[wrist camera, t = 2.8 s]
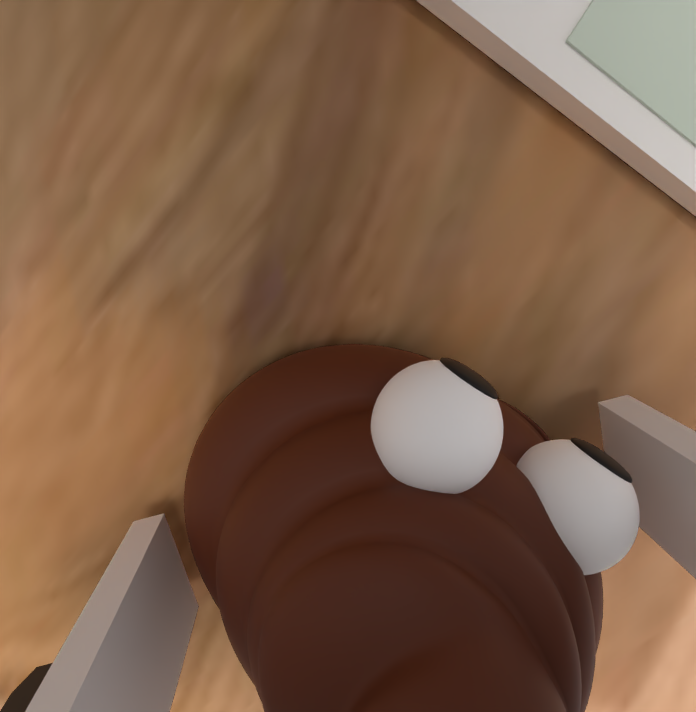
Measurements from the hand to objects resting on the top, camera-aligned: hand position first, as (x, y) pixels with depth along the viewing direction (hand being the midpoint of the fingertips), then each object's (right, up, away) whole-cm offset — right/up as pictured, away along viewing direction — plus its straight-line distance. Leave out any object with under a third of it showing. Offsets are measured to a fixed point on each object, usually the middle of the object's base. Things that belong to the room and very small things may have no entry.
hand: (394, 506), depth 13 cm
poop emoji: (0, 0, +1) cm, 1 cm away
